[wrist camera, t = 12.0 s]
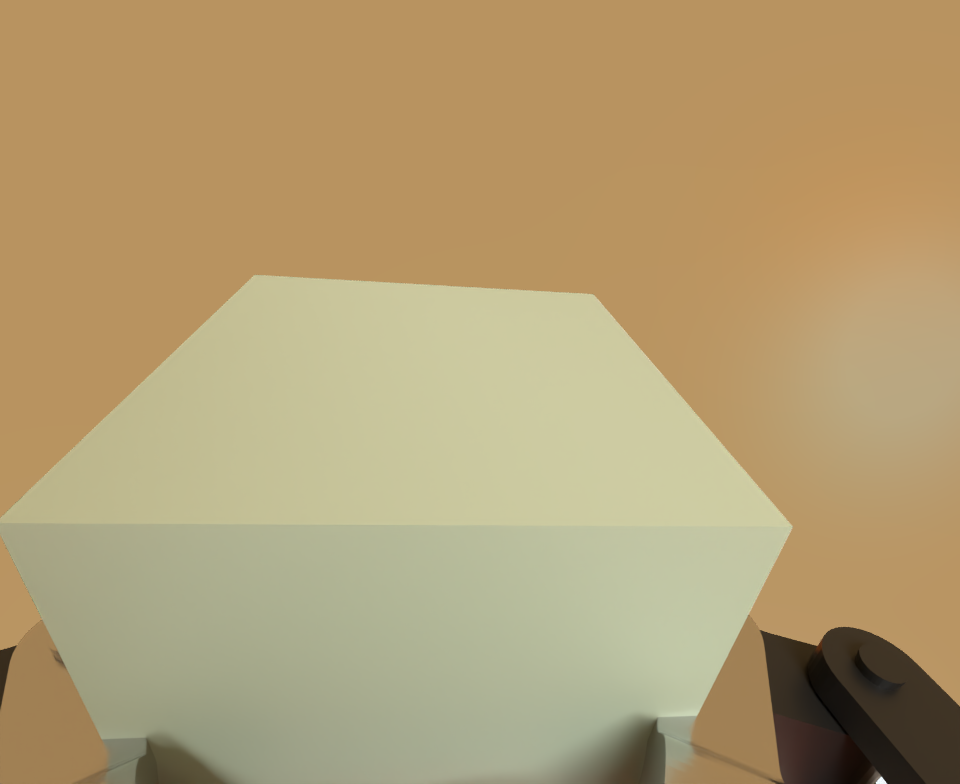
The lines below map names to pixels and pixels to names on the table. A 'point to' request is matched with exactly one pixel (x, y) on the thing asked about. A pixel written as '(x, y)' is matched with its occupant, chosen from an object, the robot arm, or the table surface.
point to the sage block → (396, 543)
